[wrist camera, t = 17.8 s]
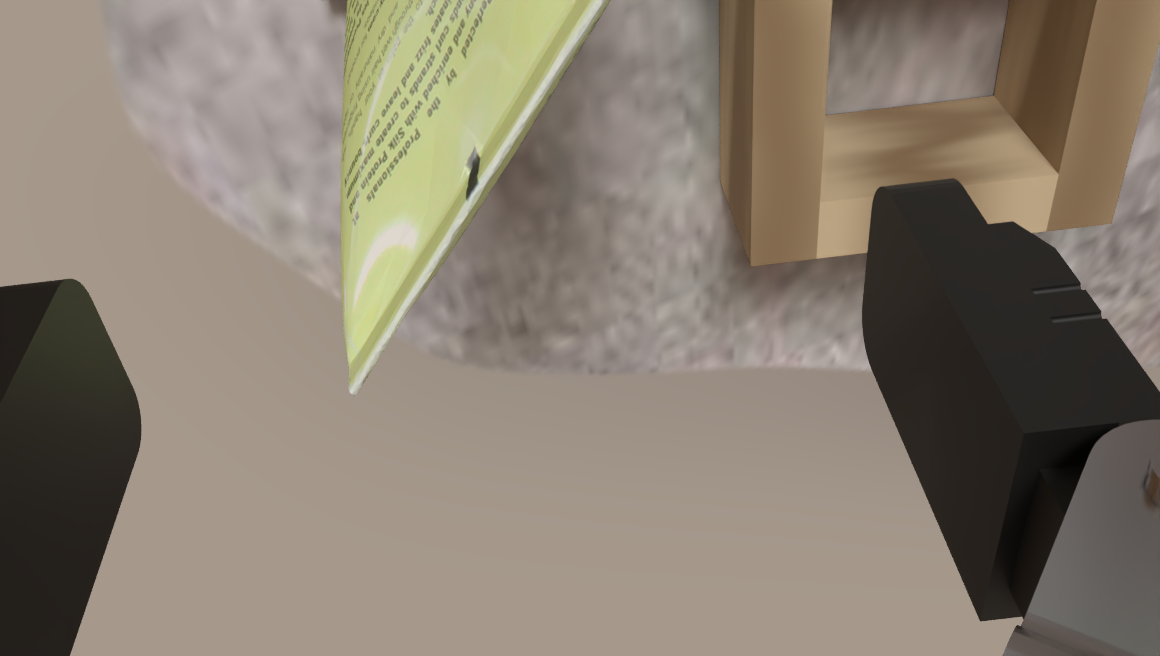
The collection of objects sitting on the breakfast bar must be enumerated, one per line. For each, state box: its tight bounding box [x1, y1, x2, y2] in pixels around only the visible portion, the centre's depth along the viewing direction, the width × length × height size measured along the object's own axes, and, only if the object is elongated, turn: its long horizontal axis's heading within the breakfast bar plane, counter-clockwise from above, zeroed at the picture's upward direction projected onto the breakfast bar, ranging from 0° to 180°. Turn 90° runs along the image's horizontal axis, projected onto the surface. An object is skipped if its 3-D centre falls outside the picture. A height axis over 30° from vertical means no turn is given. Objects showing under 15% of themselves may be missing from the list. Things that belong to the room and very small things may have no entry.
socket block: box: [719, 0, 1160, 266], centre depth 31 cm, size 11×12×5 cm
